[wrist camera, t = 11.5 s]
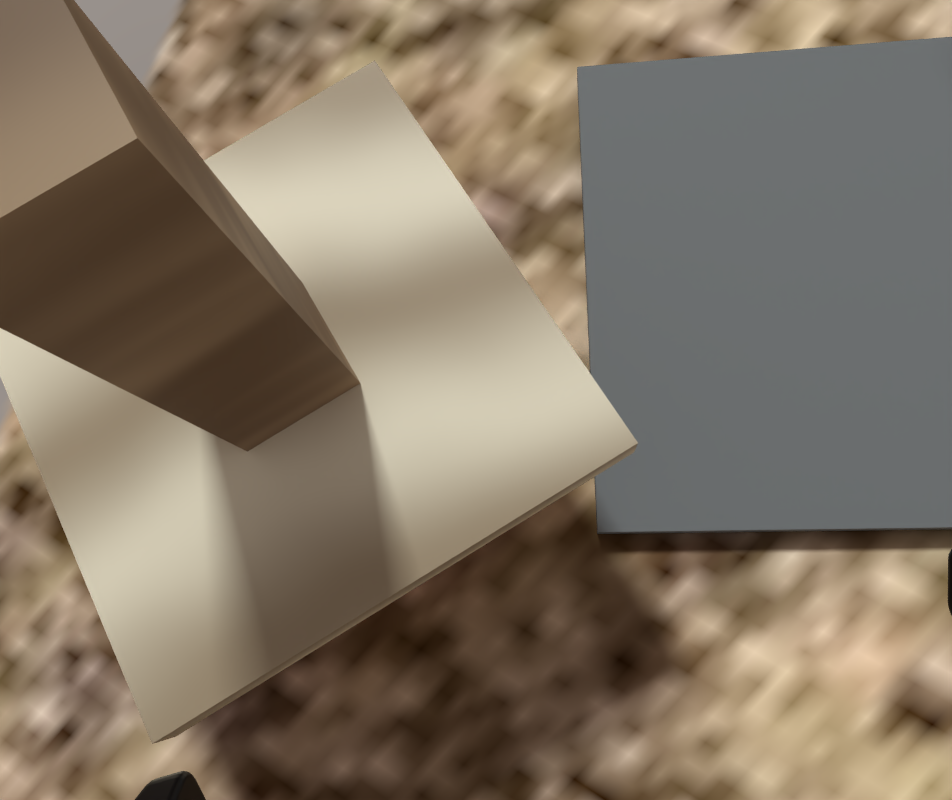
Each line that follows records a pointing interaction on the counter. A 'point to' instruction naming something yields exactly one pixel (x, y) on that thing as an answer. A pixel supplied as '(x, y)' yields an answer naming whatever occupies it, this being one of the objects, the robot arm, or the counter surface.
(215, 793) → the counter surface
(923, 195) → the rubber mat
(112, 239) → the square lid with knob
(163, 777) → the robot arm
